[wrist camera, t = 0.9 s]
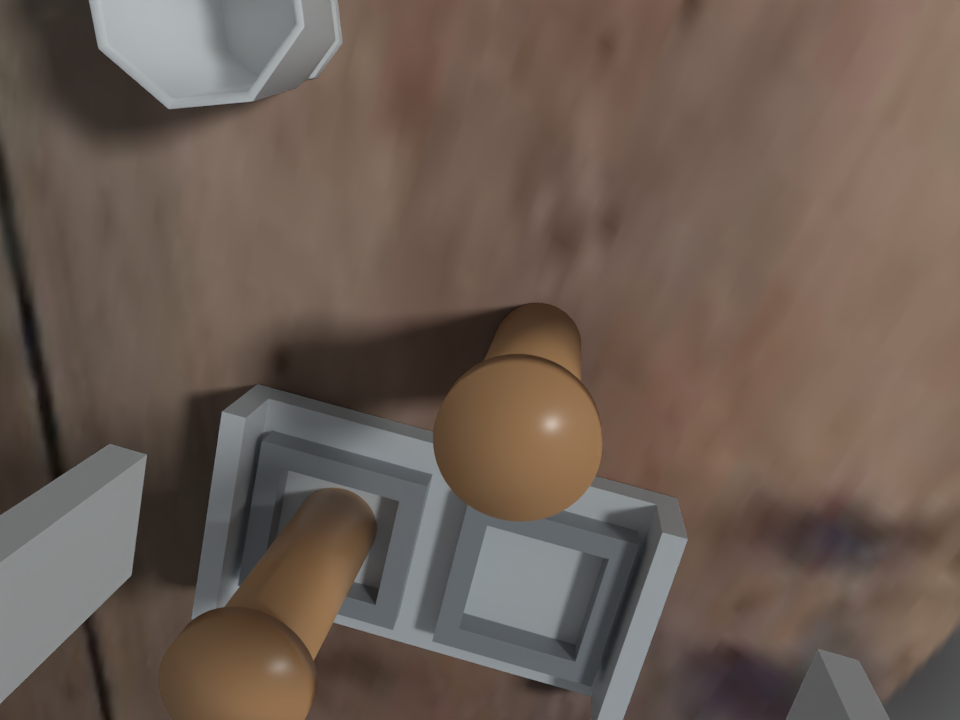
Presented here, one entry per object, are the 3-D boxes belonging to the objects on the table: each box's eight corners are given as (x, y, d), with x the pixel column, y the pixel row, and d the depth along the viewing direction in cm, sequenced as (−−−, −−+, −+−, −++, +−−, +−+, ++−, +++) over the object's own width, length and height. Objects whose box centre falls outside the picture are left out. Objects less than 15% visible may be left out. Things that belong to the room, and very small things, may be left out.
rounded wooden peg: (294, 462, 34) (167, 607, 24) (400, 491, 34) (318, 651, 24) (277, 556, 36) (150, 731, 25) (378, 584, 35) (293, 774, 25)
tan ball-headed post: (495, 275, 32) (453, 344, 22) (609, 305, 32) (623, 389, 21) (469, 383, 34) (417, 496, 23) (578, 412, 33) (576, 540, 23)
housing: (257, 384, 35) (222, 411, 31) (677, 498, 34) (687, 539, 30) (227, 574, 38) (191, 618, 34) (611, 684, 37) (614, 741, 33)
